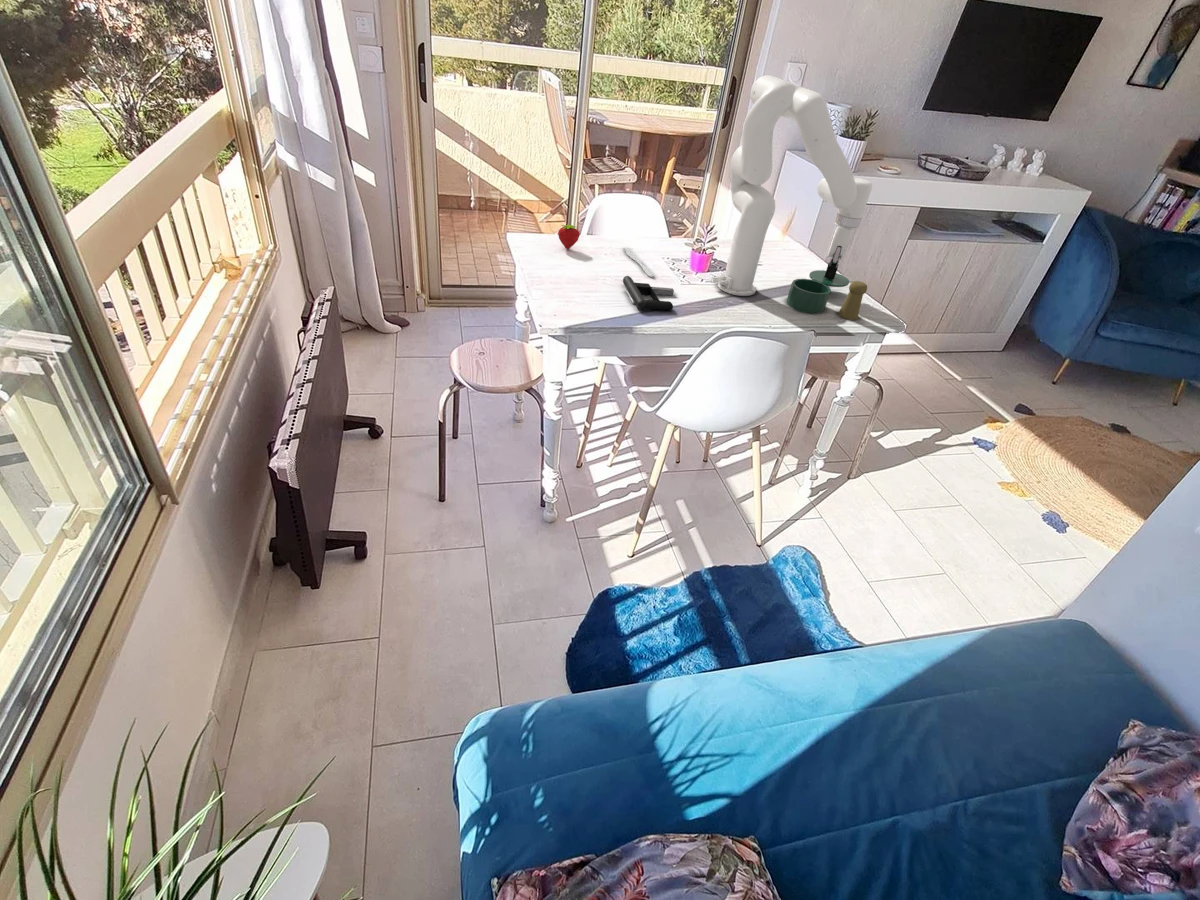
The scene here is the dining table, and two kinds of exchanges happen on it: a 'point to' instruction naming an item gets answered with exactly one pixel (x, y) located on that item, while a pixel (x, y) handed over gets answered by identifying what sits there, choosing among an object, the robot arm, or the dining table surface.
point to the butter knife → (639, 262)
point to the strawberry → (568, 235)
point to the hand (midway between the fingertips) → (829, 276)
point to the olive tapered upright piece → (853, 300)
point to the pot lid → (836, 282)
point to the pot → (808, 295)
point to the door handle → (645, 289)
